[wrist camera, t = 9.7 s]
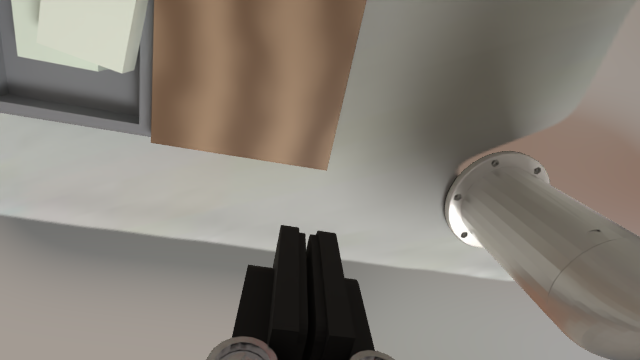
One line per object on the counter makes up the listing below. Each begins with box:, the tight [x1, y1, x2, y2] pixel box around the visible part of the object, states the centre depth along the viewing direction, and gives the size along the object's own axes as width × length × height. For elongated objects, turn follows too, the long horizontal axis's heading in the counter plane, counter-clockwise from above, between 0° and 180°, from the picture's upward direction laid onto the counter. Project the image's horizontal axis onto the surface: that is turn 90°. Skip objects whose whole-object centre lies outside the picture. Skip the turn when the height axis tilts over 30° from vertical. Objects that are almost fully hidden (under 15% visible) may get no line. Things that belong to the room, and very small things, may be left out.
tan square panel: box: [151, 0, 366, 171], centre depth 31 cm, size 16×16×4 cm
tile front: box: [36, 0, 148, 73], centre depth 26 cm, size 6×6×2 cm
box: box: [0, 0, 154, 137], centre depth 29 cm, size 14×16×3 cm
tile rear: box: [11, 0, 108, 71], centre depth 28 cm, size 6×6×2 cm
